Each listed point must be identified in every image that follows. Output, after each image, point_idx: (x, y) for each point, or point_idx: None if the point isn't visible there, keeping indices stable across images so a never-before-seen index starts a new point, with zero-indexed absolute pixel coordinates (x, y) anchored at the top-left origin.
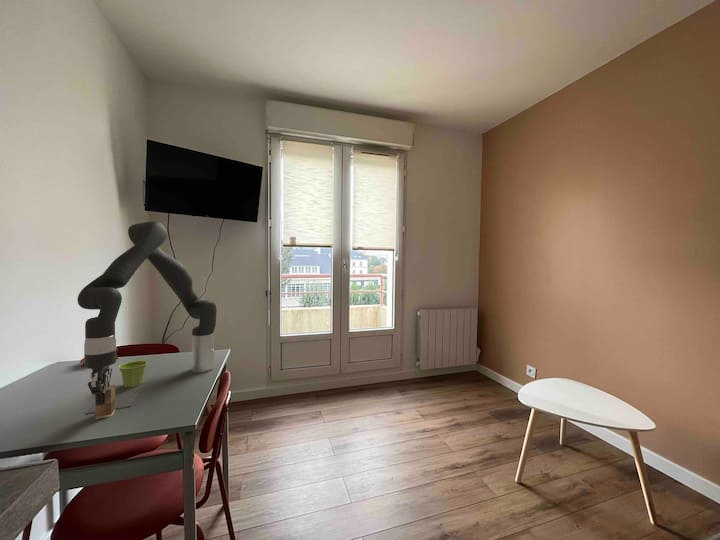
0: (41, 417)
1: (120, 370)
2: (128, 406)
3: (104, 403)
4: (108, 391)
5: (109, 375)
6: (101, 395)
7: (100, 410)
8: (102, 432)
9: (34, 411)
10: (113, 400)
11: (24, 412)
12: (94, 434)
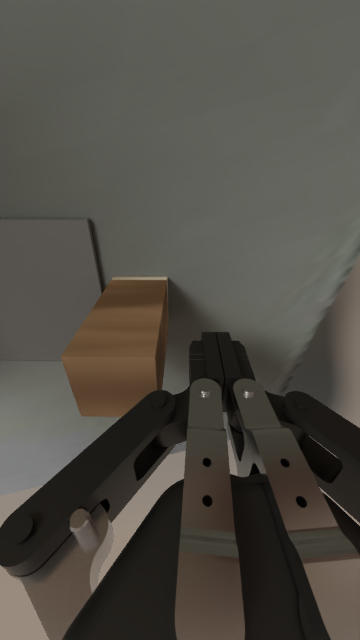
0: (100, 434)
1: None
2: (90, 229)
3: (227, 332)
4: (156, 361)
5: (190, 502)
6: (254, 380)
7: (166, 326)
8: (307, 268)
9: (59, 453)
10: (126, 304)
11: (61, 463)
12: (304, 290)
